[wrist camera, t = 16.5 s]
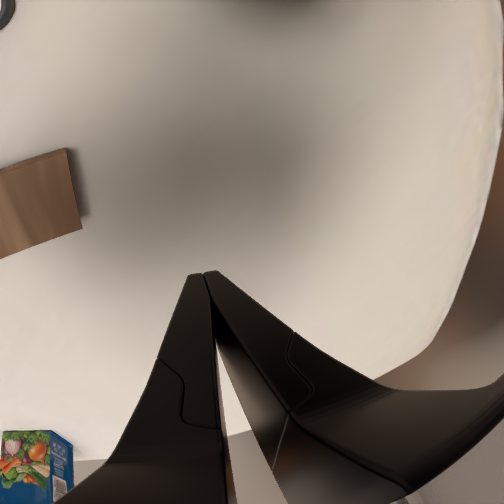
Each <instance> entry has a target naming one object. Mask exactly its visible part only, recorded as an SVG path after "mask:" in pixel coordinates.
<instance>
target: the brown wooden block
mask: <svg viewBox="0 0 504 504" xmlns="http://www.w3.org/2000/svg"><path fill="white" fill-rule="evenodd" d="M80 229H83V228H82V224H81V221H80V217H79V213H78V208H77V204H76V200H75V195H74V191H73V186H72V181H71V176H70V171H69V166H68V160H67V154H66V148H62V149H59V150H56V151H53V152H49V153H46V154H43V155H40V156H37V157H34V158H31V159H28V160H25V161H23V162H20V163H17V164H14V165H12V166H9V167H7V168H4V169H1V170H0V259H2V258H4V257H7V256H9V255H12V254H14V253H17V252H19V251H22V250H24V249H27V248H30V247H32V246H35V245H38V244H40V243H43V242H46V241H48V240H51V239H54V238H57V237H60V236H62V235H65V234H68V233H71V232H74V231H77V230H80Z"/></svg>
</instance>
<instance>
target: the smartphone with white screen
mask: <svg viewBox="0 0 504 504" xmlns="http://www.w3.org/2000/svg"><path fill="white" fill-rule="evenodd" d="M14 8H15V3H14V0H0V29H2V28H3V27H4V26H5V25H6V24H7V23H8V21H9V20H10V18H11V17H12V15H13V12H14Z"/></svg>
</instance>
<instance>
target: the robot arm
mask: <svg viewBox="0 0 504 504" xmlns="http://www.w3.org/2000/svg"><path fill="white" fill-rule="evenodd" d="M216 345H217V348H218V350H219V353H220V356H221V358H222V361H223V363H224V366H225V368H226V370H227V373H228V375H229V378H230V380H231V383H232V385H233V387H234V390H235V392H236V394H237V397H238V399H239V401H240V404H241V406H242V408H243V411H244V413H245V415H246V417H247V420H248V422H249V424H250V426H251V429H252V431H253V433H254V435H255V437H256V439H257V442H258V444H259V446H260V448H261V450H262V452H263V454H264V456H265V459H266V461H267V463H268V465H269V466H270V469H271V470H272V471H273V475H274V477H275V479H276V481H277V483H278V485H279V487H280V489H281V491H282V493H283V495H284V497H285V498H286V500H287V502H288V504H504V374H503V375H502V376H500V377H499V378H498V379H497V380H496V381H495V382H493V383H492V384H490V385H488V386H485V387H481V388H477V389H469V390H399V389H394V388H390V387H387V386H384V385H382V384H380V383H378V382H375V381H374V380H372V379H370V378H368V377H366V376H364V375H363V374H361V373H359V372H357V371H355V370H354V369H352V368H350V367H348V366H347V365H345V364H343V363H341V362H340V361H338V360H336V359H334V358H333V357H331V356H330V355H328V354H326V353H325V352H323V351H321V350H320V349H318V348H317V347H316V346H314V345H313V344H311V343H310V342H308V341H307V340H306V339H304V338H303V337H302V336H300V335H299V334H298V333H296V332H294V331H293V330H292V329H291V328H290V327H288V326H287V325H286V324H284V323H283V322H282V321H281V320H279V319H278V318H277V317H275V316H274V315H273V314H272V313H270V312H269V311H268V310H266V309H265V308H264V307H263V306H261V305H260V304H259V303H257V302H256V301H255V300H254V299H252V298H251V297H250V296H249V295H247V294H246V293H245V292H244V291H242V290H241V289H240V288H239V287H237V286H236V285H235V284H234V283H232V282H231V281H230V280H229V279H227V278H226V277H225V276H224V275H222V274H221V273H220V272H219V271H217V270H215V271H209V272H204V273H203V274H202V273H196V274H190V275H188V277H187V279H186V282H185V284H184V287H183V289H182V292H181V294H180V297H179V299H178V302H177V305H176V307H175V310H174V312H173V315H172V318H171V320H170V323H169V326H168V328H167V331H166V334H165V336H164V339H163V342H162V345H161V347H160V350H159V353H158V356H157V359H156V361H155V364H154V366H153V369H152V372H151V375H150V377H149V380H148V382H147V385H146V387H145V389H144V391H143V394H142V396H141V398H140V400H139V402H138V404H137V406H136V408H135V410H134V412H133V414H132V416H131V418H130V420H129V422H128V424H127V426H126V428H125V430H124V432H123V434H122V436H121V438H120V440H119V442H118V444H117V446H116V448H115V450H114V451H113V453H112V454H111V456H110V457H109V458H108V459H107V461H106V462H105V463H104V464H103V465H102V466H101V467H100V468H98V469H97V470H96V471H94V472H93V473H92V474H91V475H89V476H88V477H87V478H85V479H84V480H83V481H81V482H80V483H79V484H78V485H76V486H75V487H74V488H72V489H71V490H70V491H68V492H67V493H66V494H64V495H63V496H62V497H60V498H59V499H57V500H56V501H55V502H53V503H52V504H237V499H236V492H235V486H234V482H233V473H232V467H231V460H230V454H229V448H228V440H227V432H226V425H225V417H224V409H223V401H222V393H221V384H220V375H219V366H218V357H217V348H216Z"/></svg>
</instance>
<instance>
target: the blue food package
mask: <svg viewBox="0 0 504 504" xmlns="http://www.w3.org/2000/svg"><path fill="white" fill-rule="evenodd" d="M72 488H74V471H73V446H72V445H71V444H70V443H68V442H67V441H65V440H64V439H62V438H61V437H59V436H58V435H56V434H55V433H53V432H52V431H47V432H46V431H12V432H3V436H2V446H1V459H0V504H52V503H53V502H55V501H56V500H57V499H59V498H60V497H62V496H63V495H64V494H66V493H67V492H68V491H70V490H71V489H72Z"/></svg>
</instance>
